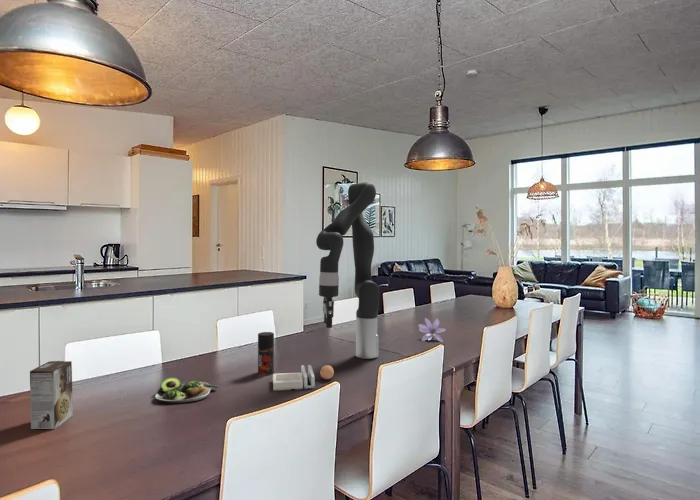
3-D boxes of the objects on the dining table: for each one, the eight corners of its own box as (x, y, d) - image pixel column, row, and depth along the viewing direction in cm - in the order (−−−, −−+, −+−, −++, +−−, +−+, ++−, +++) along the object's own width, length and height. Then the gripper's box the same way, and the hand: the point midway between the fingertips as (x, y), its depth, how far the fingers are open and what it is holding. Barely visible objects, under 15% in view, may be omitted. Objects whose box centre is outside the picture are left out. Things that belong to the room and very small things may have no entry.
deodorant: (276, 371, 167) (276, 332, 167) (268, 375, 162) (268, 336, 161) (263, 369, 169) (263, 331, 169) (255, 374, 163) (255, 334, 163)
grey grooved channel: (310, 375, 162) (310, 364, 162) (314, 388, 149) (314, 376, 149) (301, 375, 162) (301, 365, 162) (304, 388, 148) (304, 377, 148)
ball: (332, 376, 162) (332, 363, 161) (334, 380, 157) (334, 367, 156) (319, 377, 161) (319, 363, 160) (321, 381, 156) (321, 367, 156)
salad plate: (220, 383, 154) (220, 370, 154) (216, 402, 137) (216, 387, 137) (162, 387, 150) (162, 374, 150) (150, 407, 132) (150, 392, 132)
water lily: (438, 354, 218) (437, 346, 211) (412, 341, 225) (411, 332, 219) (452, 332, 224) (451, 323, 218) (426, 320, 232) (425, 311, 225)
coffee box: (50, 416, 124) (49, 360, 124) (73, 415, 125) (72, 360, 124) (29, 430, 115) (28, 370, 115) (54, 429, 116) (54, 370, 115)
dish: (300, 379, 158) (300, 372, 158) (302, 389, 148) (303, 381, 148) (272, 381, 156) (272, 373, 156) (273, 390, 146) (273, 383, 146)
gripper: (340, 285, 161) (339, 329, 161) (336, 282, 175) (335, 322, 175) (320, 285, 160) (319, 329, 160) (317, 281, 174) (316, 322, 174)
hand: (327, 325), depth 168 cm, fingers open, 8 cm apart
